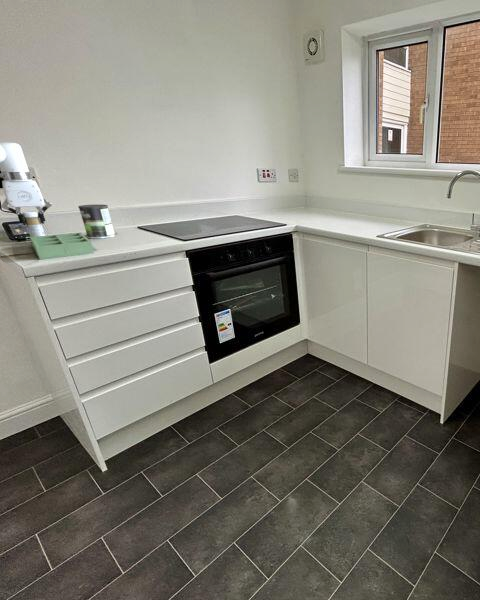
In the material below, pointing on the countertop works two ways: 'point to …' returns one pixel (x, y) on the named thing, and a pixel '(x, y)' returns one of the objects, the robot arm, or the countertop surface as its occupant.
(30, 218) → the sprinkles bottle
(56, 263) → the countertop surface
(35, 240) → the grid tray
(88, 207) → the coffee can
